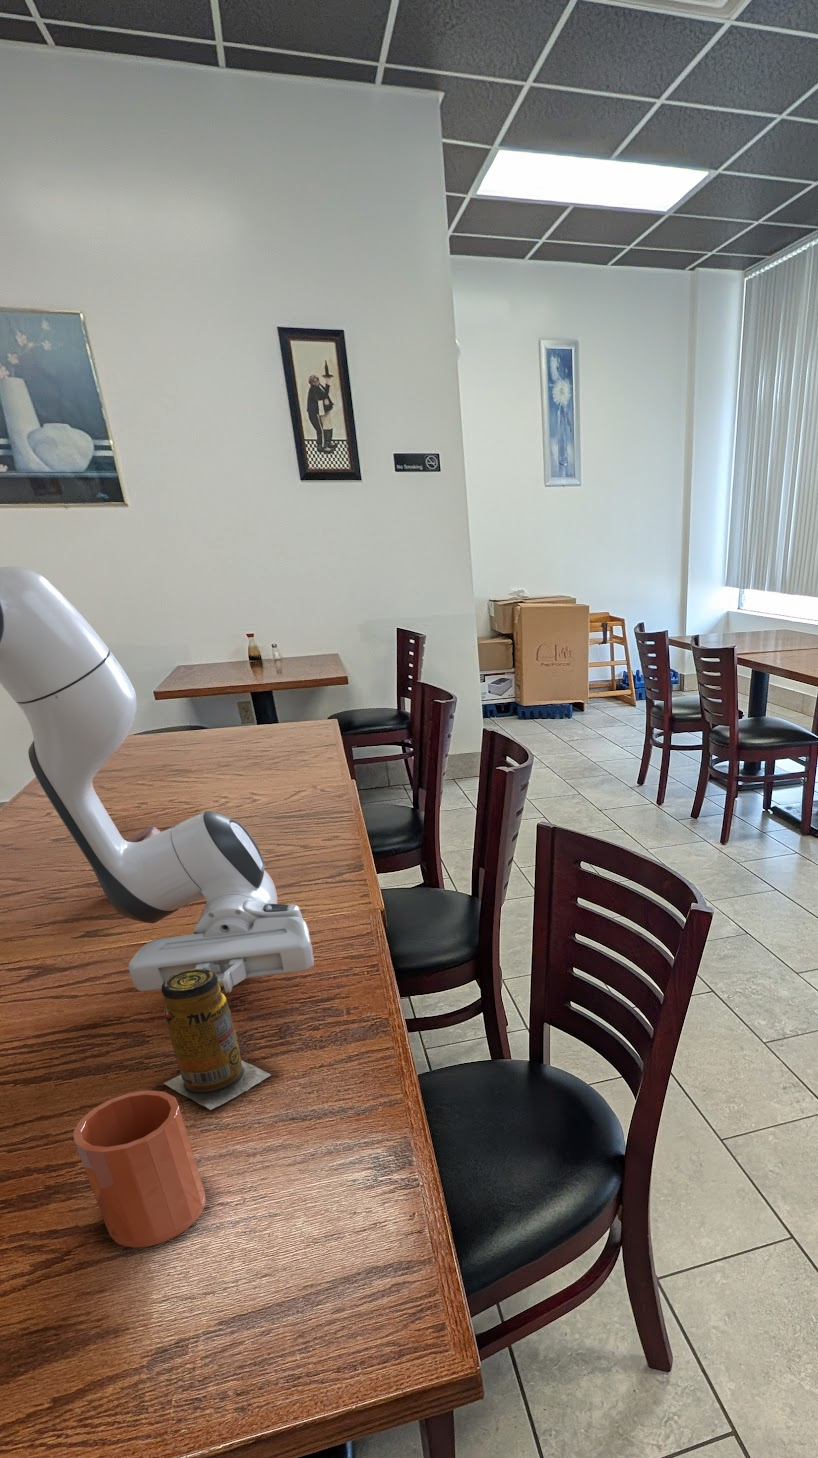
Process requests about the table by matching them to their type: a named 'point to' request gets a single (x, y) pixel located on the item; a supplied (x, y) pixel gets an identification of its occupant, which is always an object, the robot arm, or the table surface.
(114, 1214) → the terracotta cup
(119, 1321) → the table surface
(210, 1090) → the condiment
